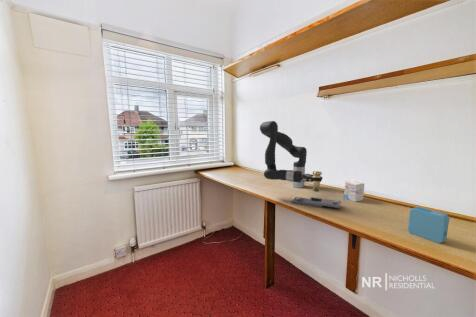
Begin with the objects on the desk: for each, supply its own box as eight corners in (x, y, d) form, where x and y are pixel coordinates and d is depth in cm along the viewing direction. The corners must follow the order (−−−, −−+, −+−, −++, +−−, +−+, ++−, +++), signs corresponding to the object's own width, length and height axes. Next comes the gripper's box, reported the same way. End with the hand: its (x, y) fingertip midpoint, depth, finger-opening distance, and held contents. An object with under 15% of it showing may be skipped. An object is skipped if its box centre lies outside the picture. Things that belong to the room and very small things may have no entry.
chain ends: (292, 202, 134) (292, 196, 134) (295, 198, 142) (295, 193, 141) (340, 210, 121) (340, 203, 120) (340, 205, 128) (341, 199, 128)
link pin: (312, 189, 133) (313, 170, 132) (321, 190, 131) (322, 171, 129) (311, 191, 129) (312, 172, 127) (320, 192, 126) (321, 173, 125)
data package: (446, 241, 87) (450, 214, 86) (442, 244, 85) (446, 217, 83) (411, 229, 98) (414, 205, 96) (407, 232, 96) (410, 207, 94)
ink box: (343, 198, 142) (344, 179, 141) (351, 196, 146) (353, 177, 144) (355, 202, 135) (356, 182, 133) (363, 200, 138) (365, 180, 136)
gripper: (291, 172, 129) (320, 175, 121) (296, 168, 141) (323, 171, 133) (291, 184, 130) (319, 187, 122) (296, 179, 142) (322, 182, 134)
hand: (321, 179), depth 127 cm, fingers closed on link pin, 4 cm apart
